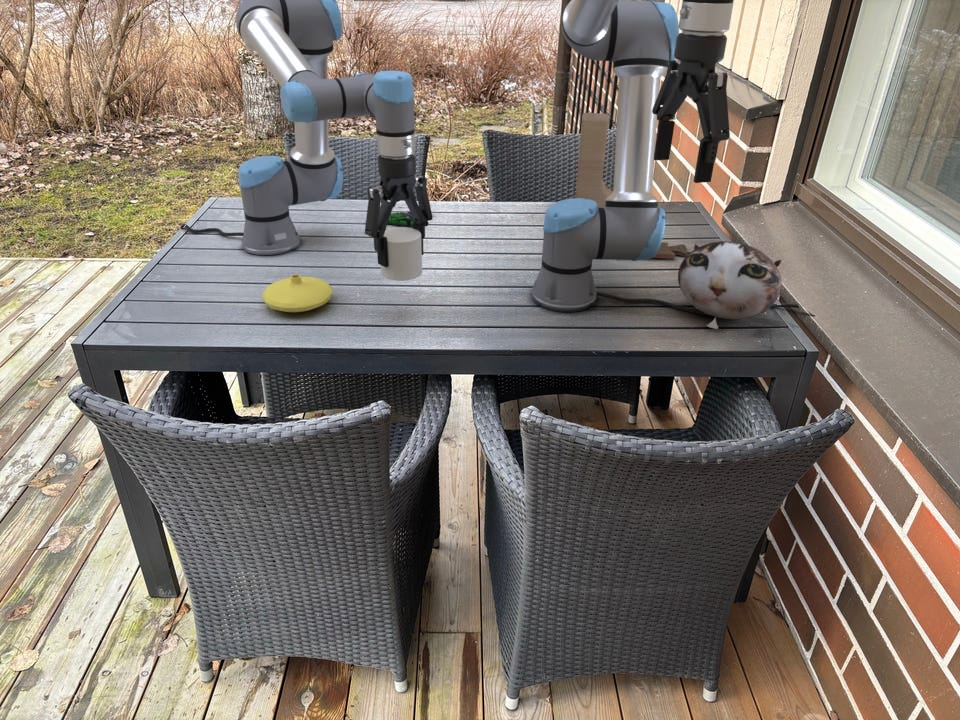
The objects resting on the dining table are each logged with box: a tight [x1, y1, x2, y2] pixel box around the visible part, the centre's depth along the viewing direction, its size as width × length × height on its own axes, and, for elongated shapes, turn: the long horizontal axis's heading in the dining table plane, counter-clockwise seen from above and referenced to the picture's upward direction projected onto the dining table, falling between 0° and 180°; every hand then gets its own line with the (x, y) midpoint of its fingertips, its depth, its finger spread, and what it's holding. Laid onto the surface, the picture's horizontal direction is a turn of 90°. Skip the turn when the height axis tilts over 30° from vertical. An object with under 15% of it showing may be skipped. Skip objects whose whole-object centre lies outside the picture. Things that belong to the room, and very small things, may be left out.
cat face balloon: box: [677, 240, 783, 330], centre depth 159 cm, size 22×18×20 cm
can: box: [380, 226, 423, 282], centre depth 154 cm, size 9×9×9 cm
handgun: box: [388, 210, 416, 228], centre depth 216 cm, size 16×3×15 cm
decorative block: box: [574, 112, 613, 208], centre depth 213 cm, size 8×15×30 cm, turn 82°
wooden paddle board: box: [652, 241, 688, 259], centre depth 196 cm, size 26×2×10 cm
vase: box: [261, 273, 333, 313], centre depth 164 cm, size 16×16×7 cm
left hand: (401, 259), depth 155 cm, fingers closed on can, 9 cm apart
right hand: (680, 170), depth 121 cm, fingers open, 13 cm apart
